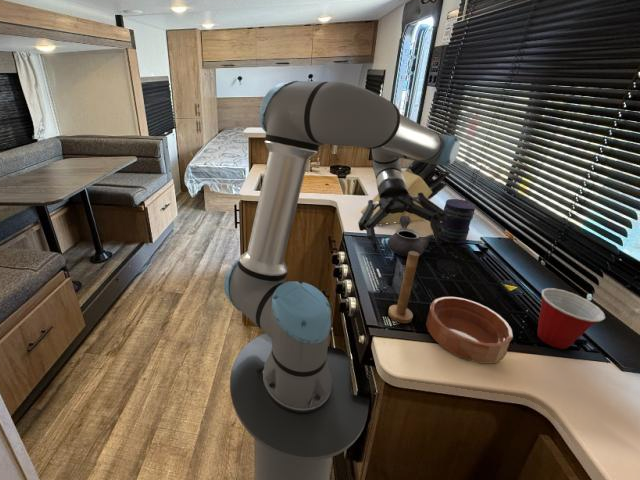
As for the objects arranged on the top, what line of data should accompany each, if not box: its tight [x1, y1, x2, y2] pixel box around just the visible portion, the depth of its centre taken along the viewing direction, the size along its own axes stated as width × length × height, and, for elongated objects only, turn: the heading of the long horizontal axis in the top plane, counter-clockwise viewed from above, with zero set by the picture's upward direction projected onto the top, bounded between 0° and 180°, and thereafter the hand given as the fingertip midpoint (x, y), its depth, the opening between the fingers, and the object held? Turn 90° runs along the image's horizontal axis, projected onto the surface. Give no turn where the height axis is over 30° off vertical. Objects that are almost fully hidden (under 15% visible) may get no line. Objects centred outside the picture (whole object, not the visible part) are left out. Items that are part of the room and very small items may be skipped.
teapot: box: [386, 215, 435, 258], centre depth 117 cm, size 19×15×10 cm
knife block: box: [360, 160, 451, 226], centre depth 137 cm, size 11×35×31 cm, turn 103°
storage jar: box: [439, 198, 477, 244], centre depth 122 cm, size 10×10×15 cm
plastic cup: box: [536, 287, 606, 350], centre depth 74 cm, size 11×11×12 cm
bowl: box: [425, 296, 514, 364], centre depth 77 cm, size 17×17×6 cm
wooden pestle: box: [387, 251, 420, 324], centre depth 82 cm, size 6×6×20 cm
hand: (406, 244), depth 73 cm, fingers open, 13 cm apart
